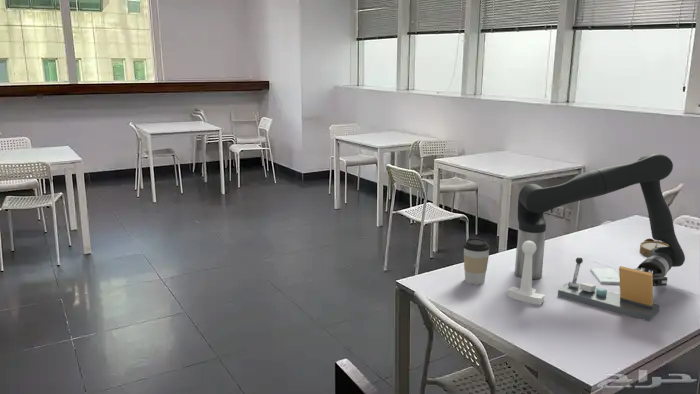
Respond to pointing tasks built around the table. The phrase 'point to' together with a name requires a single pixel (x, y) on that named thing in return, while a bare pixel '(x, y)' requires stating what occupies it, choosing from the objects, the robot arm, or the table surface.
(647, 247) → the alarm clock
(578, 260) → the toggle lever
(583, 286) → the block
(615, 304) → the panel
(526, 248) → the joystick
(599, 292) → the push button
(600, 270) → the external hard drive
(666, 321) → the table surface
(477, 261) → the coffee cup
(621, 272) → the tan flat slab
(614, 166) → the robot arm
